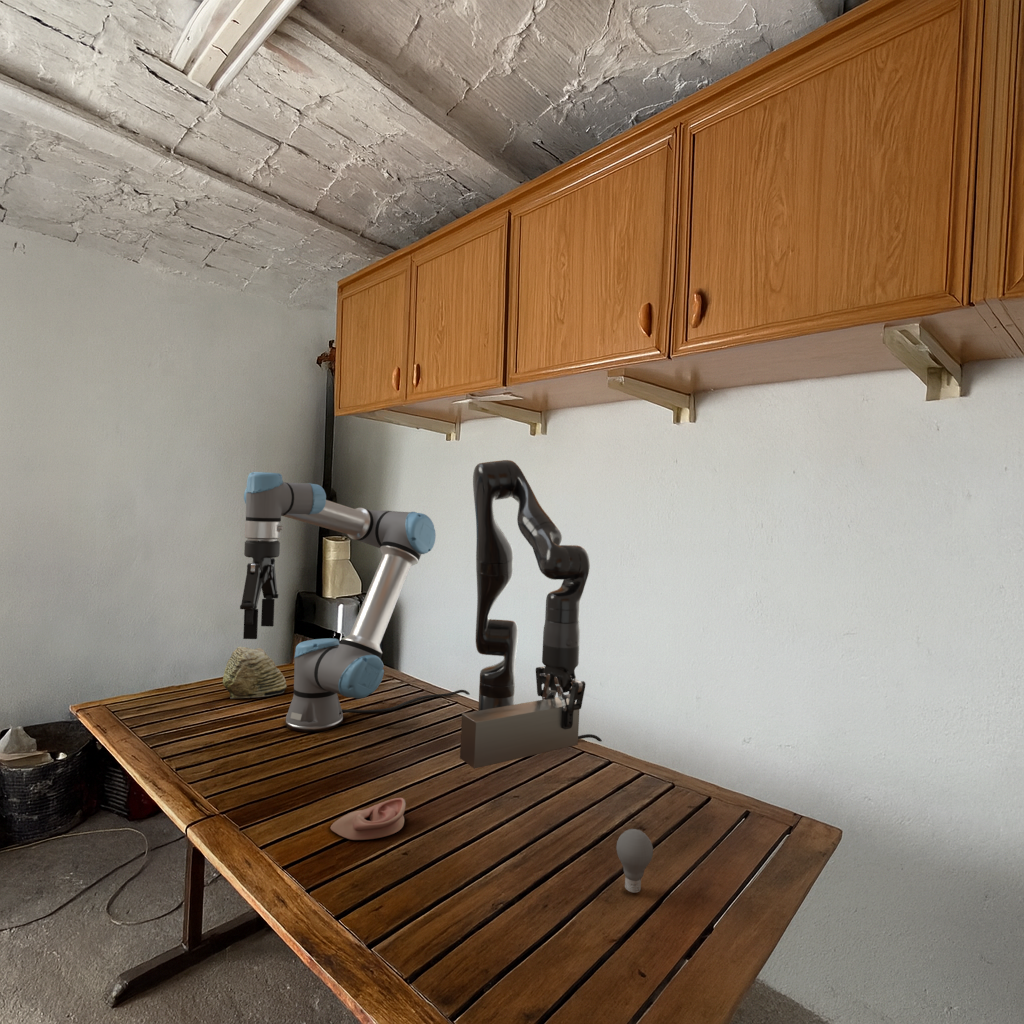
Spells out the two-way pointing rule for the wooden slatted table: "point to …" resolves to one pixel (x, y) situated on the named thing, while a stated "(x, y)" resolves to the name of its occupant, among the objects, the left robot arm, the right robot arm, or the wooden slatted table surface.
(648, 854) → the light bulb
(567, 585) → the right robot arm
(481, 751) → the bar
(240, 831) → the wooden slatted table surface
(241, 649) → the fossil
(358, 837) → the anatomical model
